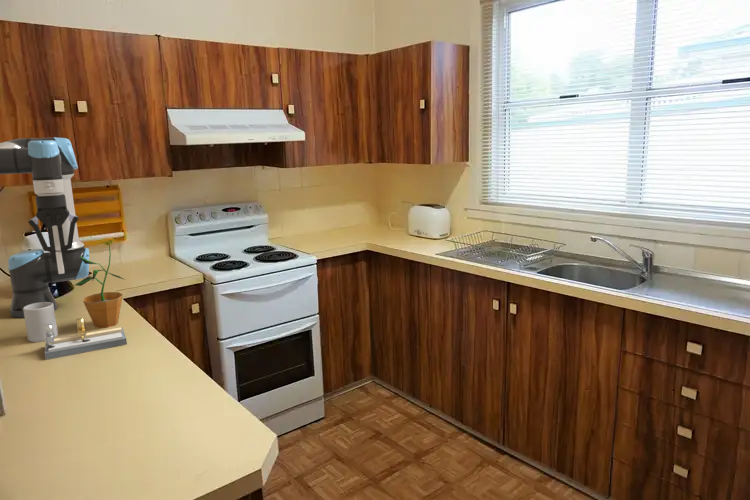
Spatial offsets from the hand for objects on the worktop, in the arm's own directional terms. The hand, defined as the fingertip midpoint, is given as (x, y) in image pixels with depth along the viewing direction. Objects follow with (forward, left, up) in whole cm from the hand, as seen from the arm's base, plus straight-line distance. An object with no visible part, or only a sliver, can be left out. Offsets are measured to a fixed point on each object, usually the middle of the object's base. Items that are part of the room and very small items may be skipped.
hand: (61, 272), depth 162 cm
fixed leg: (-1, -6, -22) cm, 22 cm away
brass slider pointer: (-1, +3, -21) cm, 22 cm away
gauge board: (-1, +4, -24) cm, 25 cm away
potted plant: (-20, +10, -25) cm, 33 cm away
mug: (-19, -8, -25) cm, 32 cm away
